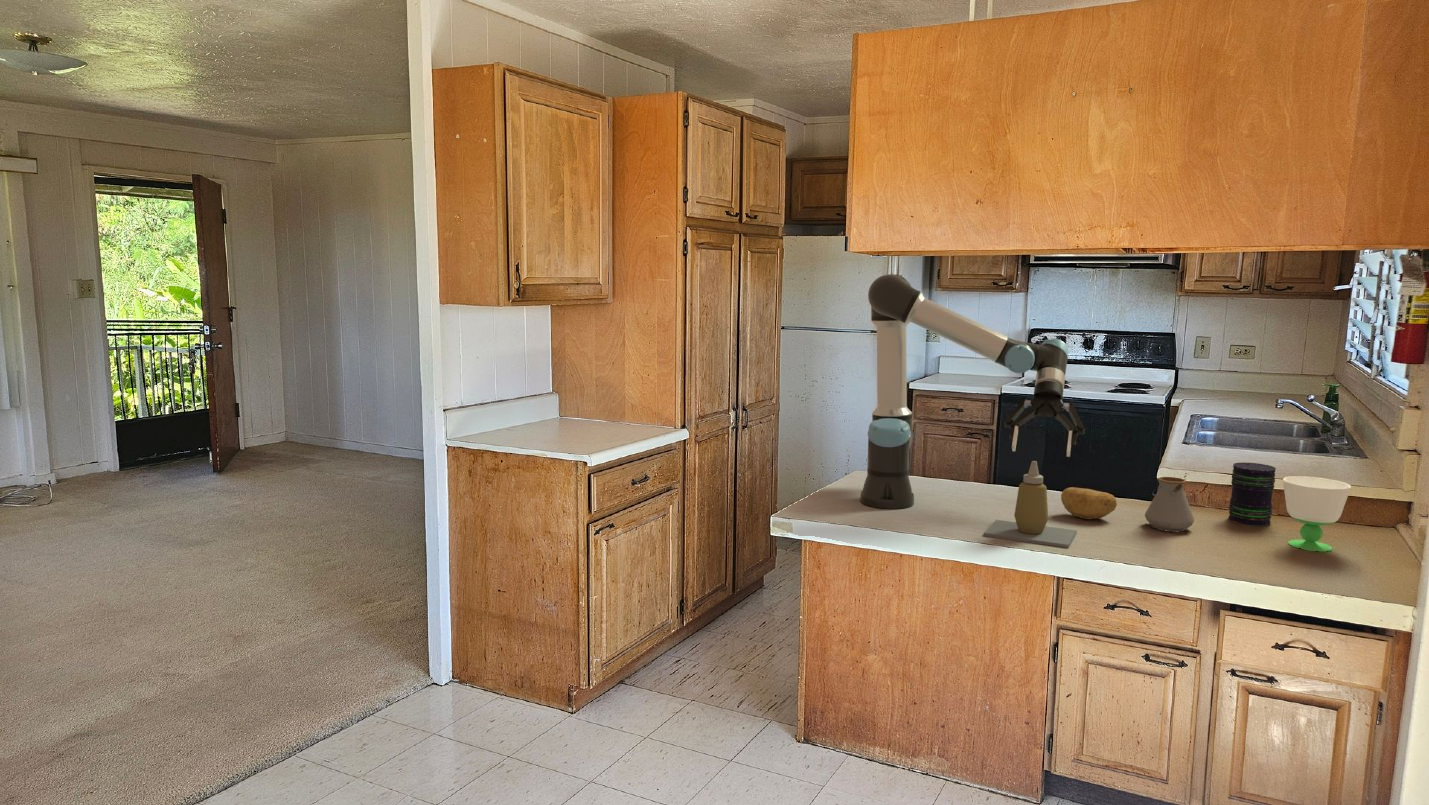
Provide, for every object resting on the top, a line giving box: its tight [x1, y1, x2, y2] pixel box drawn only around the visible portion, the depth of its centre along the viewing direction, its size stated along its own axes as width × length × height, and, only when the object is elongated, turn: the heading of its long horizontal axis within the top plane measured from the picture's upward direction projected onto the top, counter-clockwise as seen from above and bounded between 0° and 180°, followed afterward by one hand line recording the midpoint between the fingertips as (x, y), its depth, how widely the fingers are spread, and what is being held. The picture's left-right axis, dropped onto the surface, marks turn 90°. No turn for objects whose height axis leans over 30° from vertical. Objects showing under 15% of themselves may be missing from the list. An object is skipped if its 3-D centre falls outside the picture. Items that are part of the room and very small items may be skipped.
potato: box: [1060, 486, 1118, 520], centre depth 240 cm, size 10×14×8 cm
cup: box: [1282, 475, 1352, 553], centre depth 215 cm, size 14×14×16 cm
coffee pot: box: [1144, 476, 1195, 533], centre depth 226 cm, size 21×12×15 cm, turn 159°
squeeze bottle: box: [1014, 460, 1049, 534], centre depth 224 cm, size 8×8×18 cm
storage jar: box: [1228, 462, 1277, 527], centre depth 237 cm, size 10×10×15 cm
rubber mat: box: [983, 519, 1078, 549], centre depth 225 cm, size 20×14×1 cm
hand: (1040, 451), depth 235 cm, fingers open, 13 cm apart
